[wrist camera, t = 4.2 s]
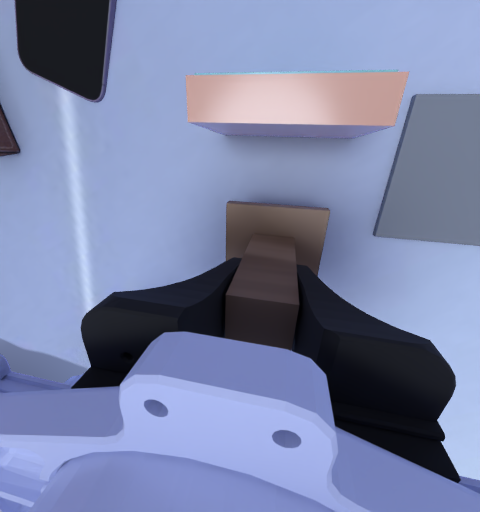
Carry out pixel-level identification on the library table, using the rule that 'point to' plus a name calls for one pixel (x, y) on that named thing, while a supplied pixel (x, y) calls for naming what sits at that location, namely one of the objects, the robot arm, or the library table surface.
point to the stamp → (269, 268)
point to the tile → (296, 102)
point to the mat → (436, 173)
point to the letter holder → (6, 138)
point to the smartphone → (67, 42)
